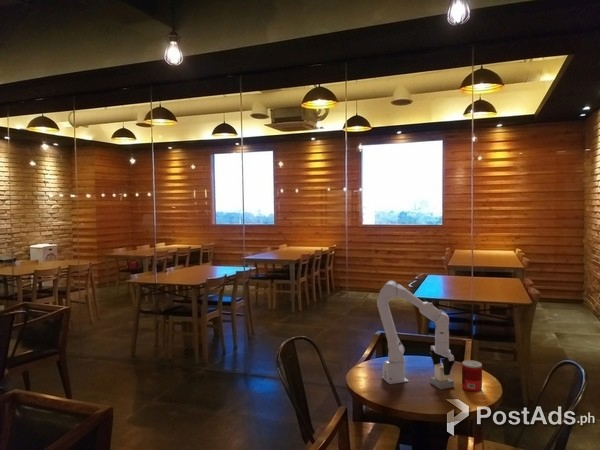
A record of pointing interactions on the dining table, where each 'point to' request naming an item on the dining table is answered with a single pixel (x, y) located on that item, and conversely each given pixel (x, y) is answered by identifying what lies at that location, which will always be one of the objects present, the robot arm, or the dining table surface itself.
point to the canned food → (472, 376)
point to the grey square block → (442, 383)
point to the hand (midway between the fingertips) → (441, 371)
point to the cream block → (440, 372)
